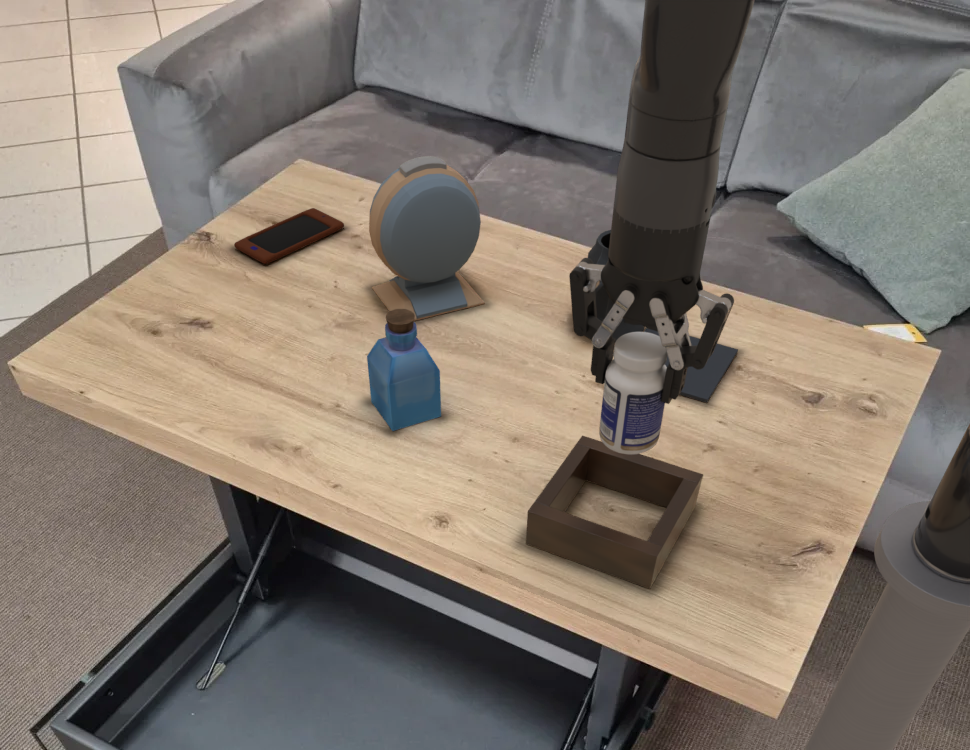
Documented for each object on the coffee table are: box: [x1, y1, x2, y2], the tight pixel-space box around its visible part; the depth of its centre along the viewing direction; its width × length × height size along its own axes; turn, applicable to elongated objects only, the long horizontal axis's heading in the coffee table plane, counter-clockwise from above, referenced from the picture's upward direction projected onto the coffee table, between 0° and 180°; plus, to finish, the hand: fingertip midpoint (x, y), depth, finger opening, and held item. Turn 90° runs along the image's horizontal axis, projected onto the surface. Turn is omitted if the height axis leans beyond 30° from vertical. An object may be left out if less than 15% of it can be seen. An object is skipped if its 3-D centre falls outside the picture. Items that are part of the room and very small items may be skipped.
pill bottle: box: [598, 331, 667, 454], centre depth 85 cm, size 6×6×10 cm
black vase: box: [587, 229, 645, 342], centre depth 117 cm, size 12×9×11 cm
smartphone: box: [233, 207, 345, 265], centre depth 135 cm, size 7×1×15 cm
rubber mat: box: [643, 327, 739, 404], centre depth 117 cm, size 12×12×1 cm
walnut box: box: [525, 435, 704, 590], centre depth 96 cm, size 14×14×4 cm
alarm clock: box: [368, 155, 485, 322], centre depth 119 cm, size 14×10×18 cm
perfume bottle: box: [366, 309, 442, 432], centre depth 106 cm, size 6×6×12 cm
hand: (635, 388), depth 85 cm, fingers closed on pill bottle, 5 cm apart
